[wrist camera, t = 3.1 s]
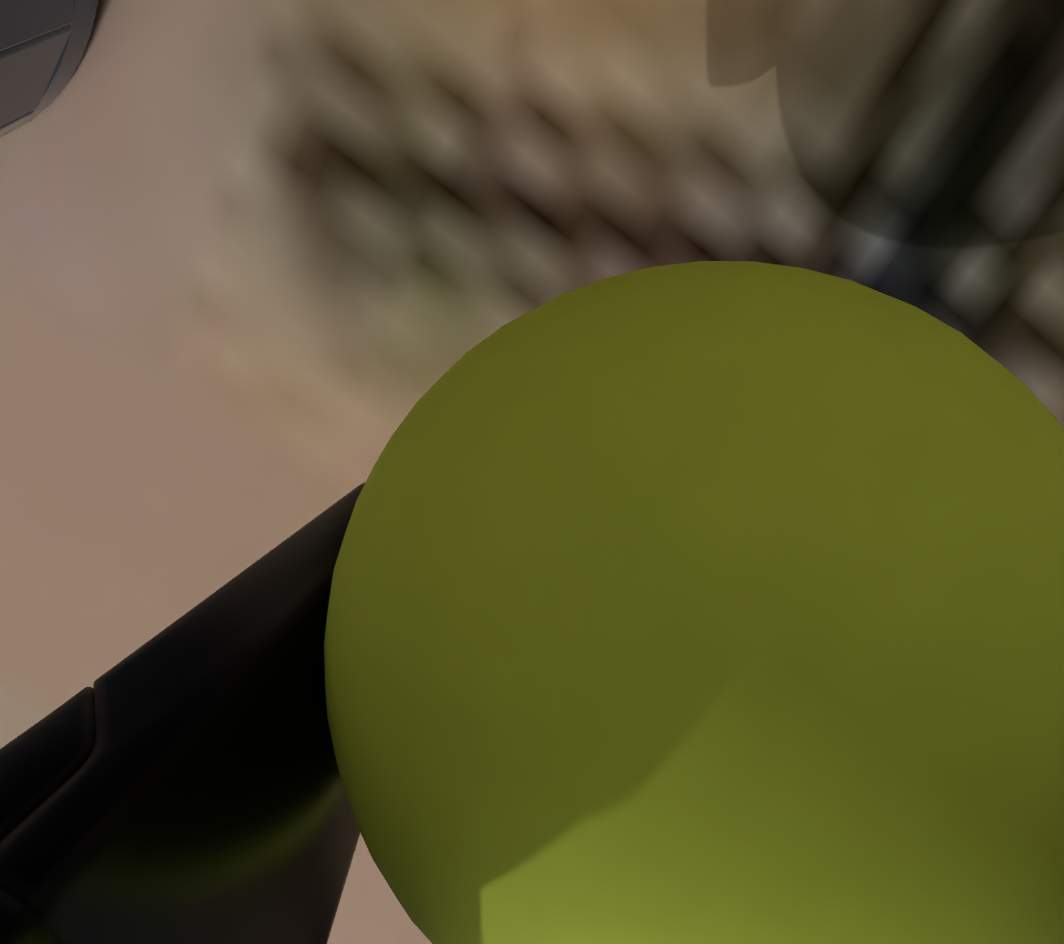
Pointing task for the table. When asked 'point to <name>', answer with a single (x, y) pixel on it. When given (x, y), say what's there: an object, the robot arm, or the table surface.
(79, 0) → the tumbler
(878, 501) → the ball
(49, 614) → the table surface
